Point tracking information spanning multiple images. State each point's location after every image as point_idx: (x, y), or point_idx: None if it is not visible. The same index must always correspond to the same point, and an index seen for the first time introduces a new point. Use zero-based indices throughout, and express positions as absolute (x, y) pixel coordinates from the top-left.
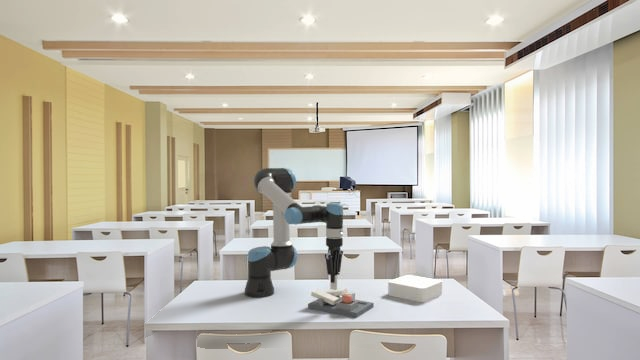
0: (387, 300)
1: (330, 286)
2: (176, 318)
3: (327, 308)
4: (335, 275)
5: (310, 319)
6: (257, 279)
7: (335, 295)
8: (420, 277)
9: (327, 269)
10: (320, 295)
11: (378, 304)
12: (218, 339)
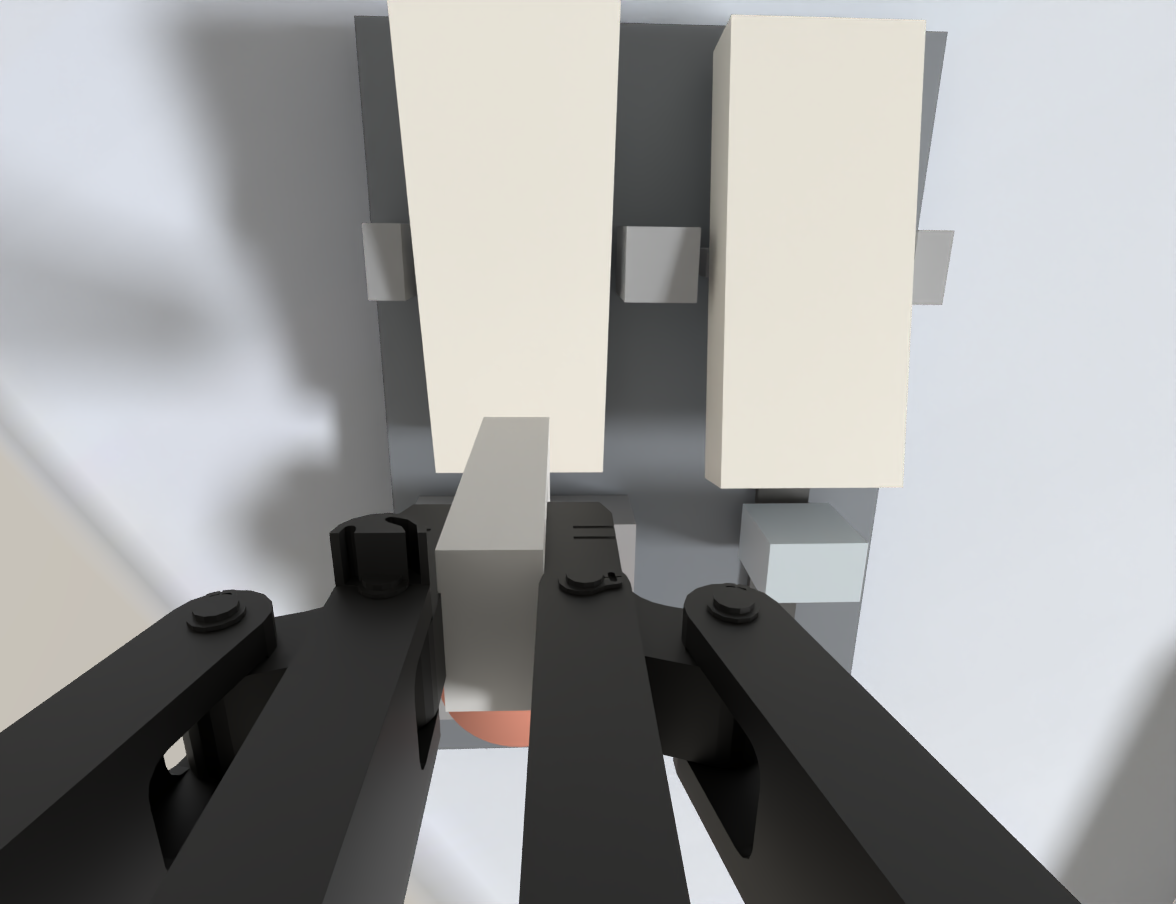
0: (1105, 726)
1: (478, 433)
2: None
3: (387, 379)
4: (457, 699)
5: (35, 335)
6: None
7: (709, 347)
8: None
9: (19, 741)
10: (411, 224)
11: (932, 709)
12: None
